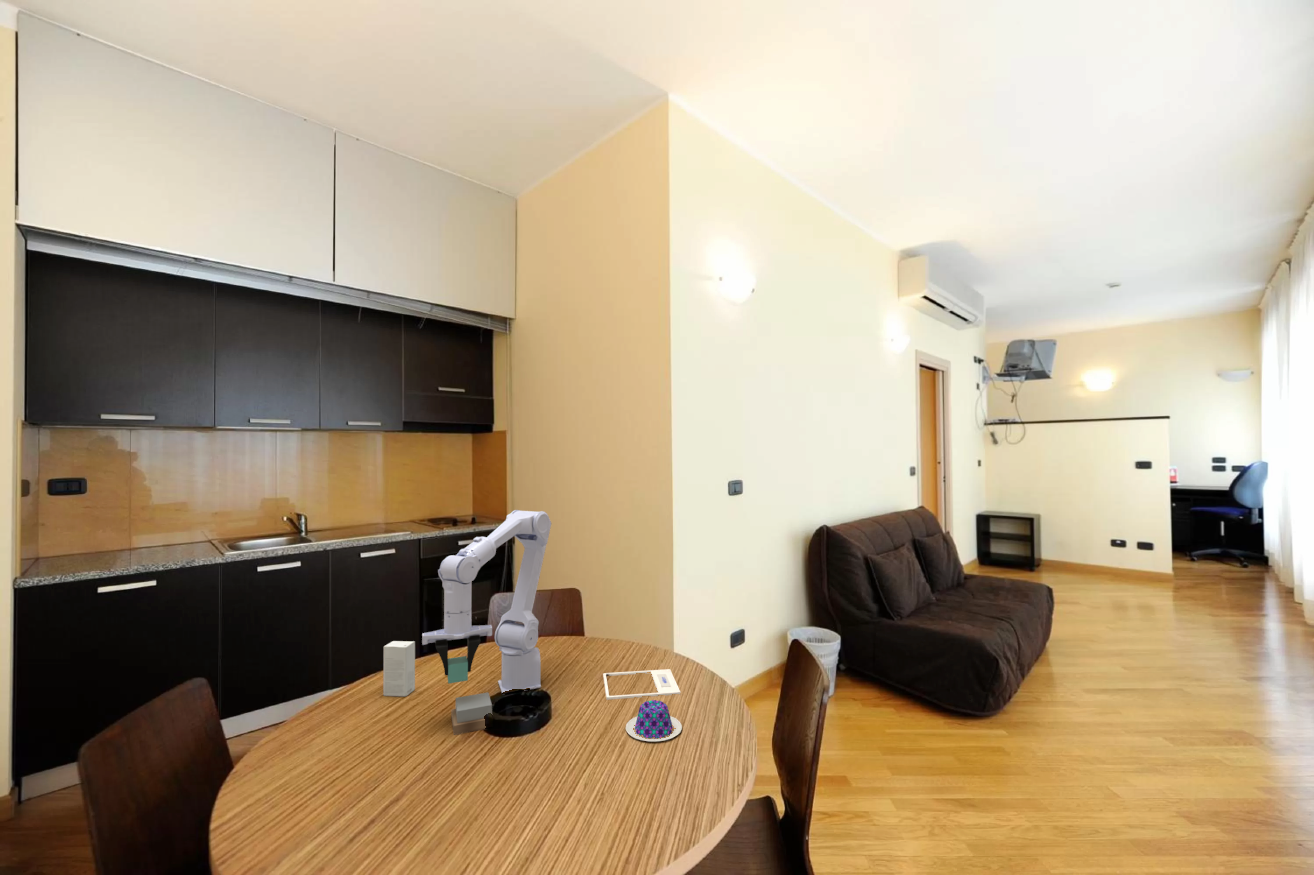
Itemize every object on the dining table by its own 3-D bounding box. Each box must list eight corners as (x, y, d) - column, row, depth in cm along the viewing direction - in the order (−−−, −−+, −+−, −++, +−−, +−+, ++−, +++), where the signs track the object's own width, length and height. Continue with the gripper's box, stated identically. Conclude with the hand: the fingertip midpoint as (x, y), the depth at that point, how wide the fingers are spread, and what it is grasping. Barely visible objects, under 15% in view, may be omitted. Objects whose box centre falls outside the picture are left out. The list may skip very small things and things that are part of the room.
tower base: (488, 713, 125) (488, 702, 125) (493, 729, 118) (493, 718, 118) (451, 720, 122) (451, 709, 122) (453, 737, 114) (453, 725, 114)
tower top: (488, 703, 125) (488, 692, 125) (491, 716, 118) (491, 704, 118) (455, 709, 122) (455, 697, 122) (457, 723, 115) (457, 711, 116)
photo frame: (680, 691, 133) (606, 696, 131) (680, 695, 133) (606, 701, 131) (669, 668, 148) (603, 672, 145) (669, 672, 148) (603, 676, 145)
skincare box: (415, 689, 137) (415, 641, 137) (406, 697, 132) (406, 647, 133) (392, 688, 137) (392, 640, 138) (382, 696, 133) (382, 646, 133)
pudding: (615, 725, 119) (615, 700, 119) (663, 711, 125) (663, 688, 125) (642, 751, 108) (642, 724, 109) (693, 735, 115) (692, 709, 115)
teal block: (466, 673, 124) (466, 655, 124) (467, 680, 120) (467, 662, 120) (447, 676, 122) (447, 658, 122) (448, 683, 119) (448, 664, 119)
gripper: (422, 619, 115) (422, 684, 115) (493, 610, 121) (493, 673, 121) (422, 610, 122) (422, 672, 121) (490, 602, 127) (489, 661, 127)
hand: (457, 671), depth 121 cm, fingers closed on teal block, 4 cm apart
